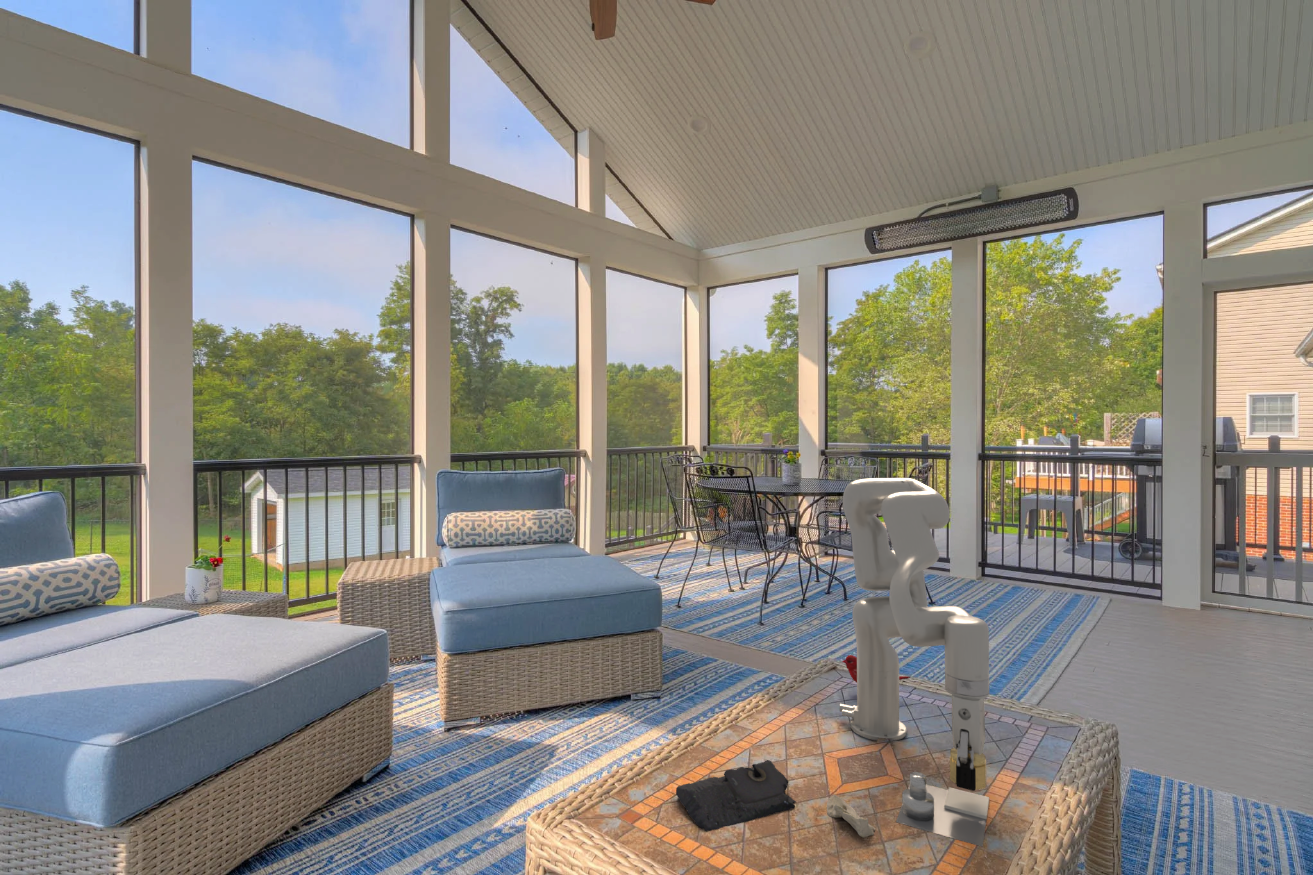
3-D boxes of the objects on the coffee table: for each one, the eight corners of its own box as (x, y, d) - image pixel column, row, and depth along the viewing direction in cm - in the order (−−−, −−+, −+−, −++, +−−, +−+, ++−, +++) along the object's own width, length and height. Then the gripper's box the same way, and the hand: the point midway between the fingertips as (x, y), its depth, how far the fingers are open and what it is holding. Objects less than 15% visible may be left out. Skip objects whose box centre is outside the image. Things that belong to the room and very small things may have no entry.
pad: (944, 807, 121) (944, 804, 121) (948, 790, 127) (949, 787, 127) (986, 819, 118) (986, 815, 118) (989, 800, 124) (989, 797, 124)
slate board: (895, 827, 117) (895, 821, 117) (911, 785, 131) (911, 780, 131) (982, 852, 110) (982, 846, 110) (989, 805, 124) (989, 800, 124)
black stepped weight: (666, 794, 129) (666, 770, 129) (760, 770, 138) (760, 748, 138) (702, 837, 115) (702, 810, 115) (804, 808, 124) (804, 783, 124)
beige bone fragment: (840, 807, 124) (840, 784, 124) (882, 837, 114) (882, 812, 114) (817, 815, 121) (817, 791, 121) (858, 847, 112) (858, 821, 112)
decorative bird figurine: (842, 688, 181) (842, 652, 181) (910, 698, 174) (910, 660, 174) (841, 691, 178) (841, 655, 178) (910, 702, 171) (910, 664, 171)
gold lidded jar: (984, 792, 118) (984, 760, 118) (948, 783, 121) (948, 752, 121) (987, 777, 123) (986, 747, 123) (952, 769, 126) (952, 739, 126)
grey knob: (899, 815, 119) (899, 778, 119) (905, 801, 123) (905, 765, 123) (931, 824, 116) (931, 786, 116) (935, 809, 121) (935, 772, 121)
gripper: (985, 704, 113) (986, 808, 113) (992, 673, 128) (993, 764, 128) (939, 695, 117) (939, 796, 117) (950, 666, 132) (951, 755, 131)
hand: (967, 778), depth 122 cm, fingers closed on gold lidded jar, 6 cm apart
